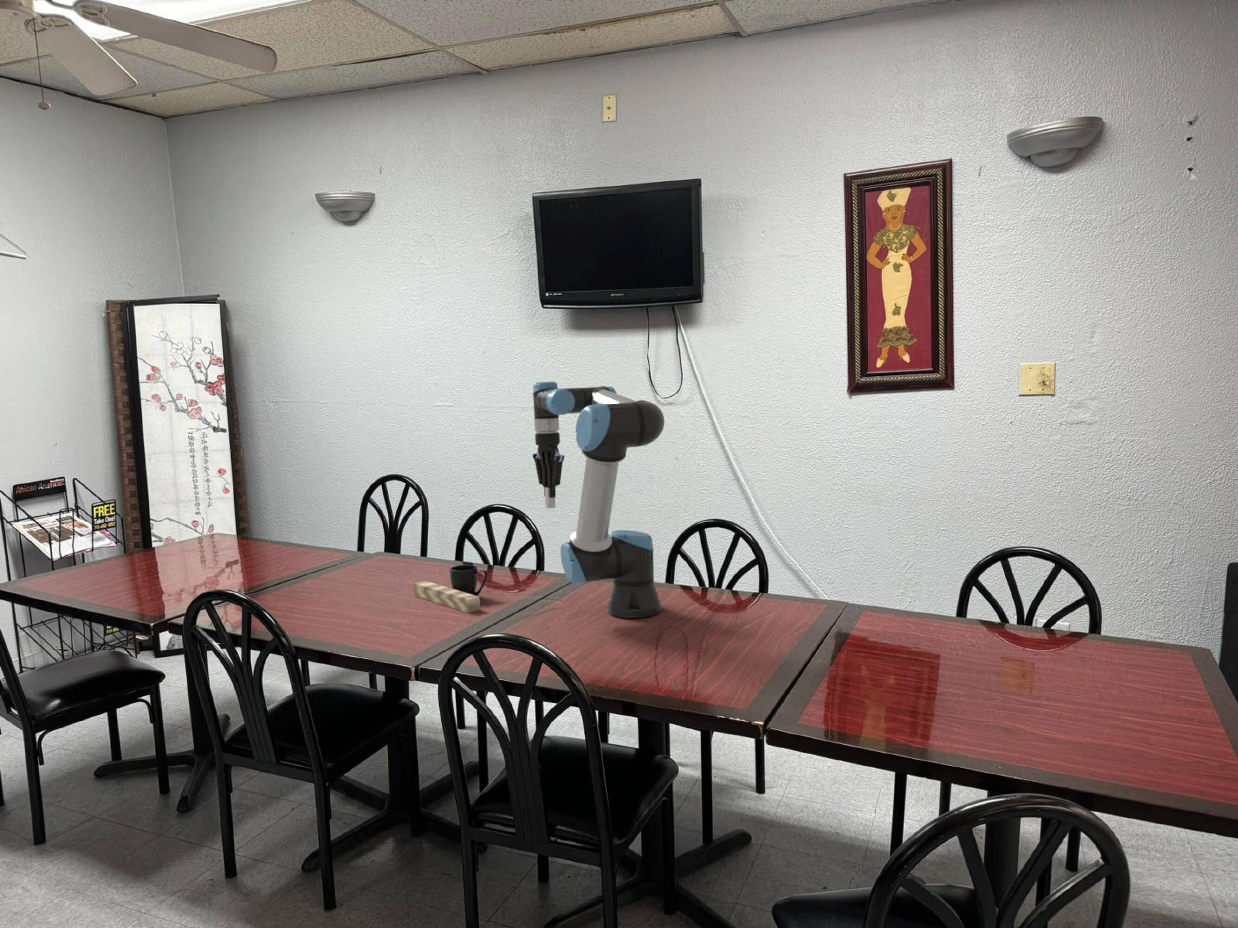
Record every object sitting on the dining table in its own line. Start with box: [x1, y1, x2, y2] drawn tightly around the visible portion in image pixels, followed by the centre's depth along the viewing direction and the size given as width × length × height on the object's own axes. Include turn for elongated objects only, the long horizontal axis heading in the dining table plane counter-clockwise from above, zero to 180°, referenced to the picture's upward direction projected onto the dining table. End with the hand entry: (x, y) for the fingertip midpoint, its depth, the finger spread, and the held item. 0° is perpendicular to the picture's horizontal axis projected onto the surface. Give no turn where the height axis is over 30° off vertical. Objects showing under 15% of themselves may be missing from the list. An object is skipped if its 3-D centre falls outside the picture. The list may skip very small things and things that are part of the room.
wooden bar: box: [413, 580, 481, 614], centre depth 268 cm, size 30×4×4 cm, turn 43°
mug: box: [449, 564, 489, 596], centre depth 272 cm, size 8×12×10 cm
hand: (550, 507), depth 275 cm, fingers closed
